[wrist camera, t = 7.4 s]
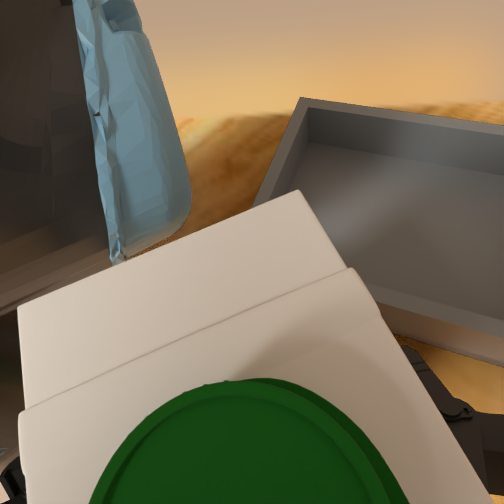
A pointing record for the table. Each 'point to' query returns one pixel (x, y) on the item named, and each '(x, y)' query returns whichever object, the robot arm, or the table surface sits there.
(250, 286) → the soya milk
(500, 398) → the table surface
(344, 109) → the bin
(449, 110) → the table surface
